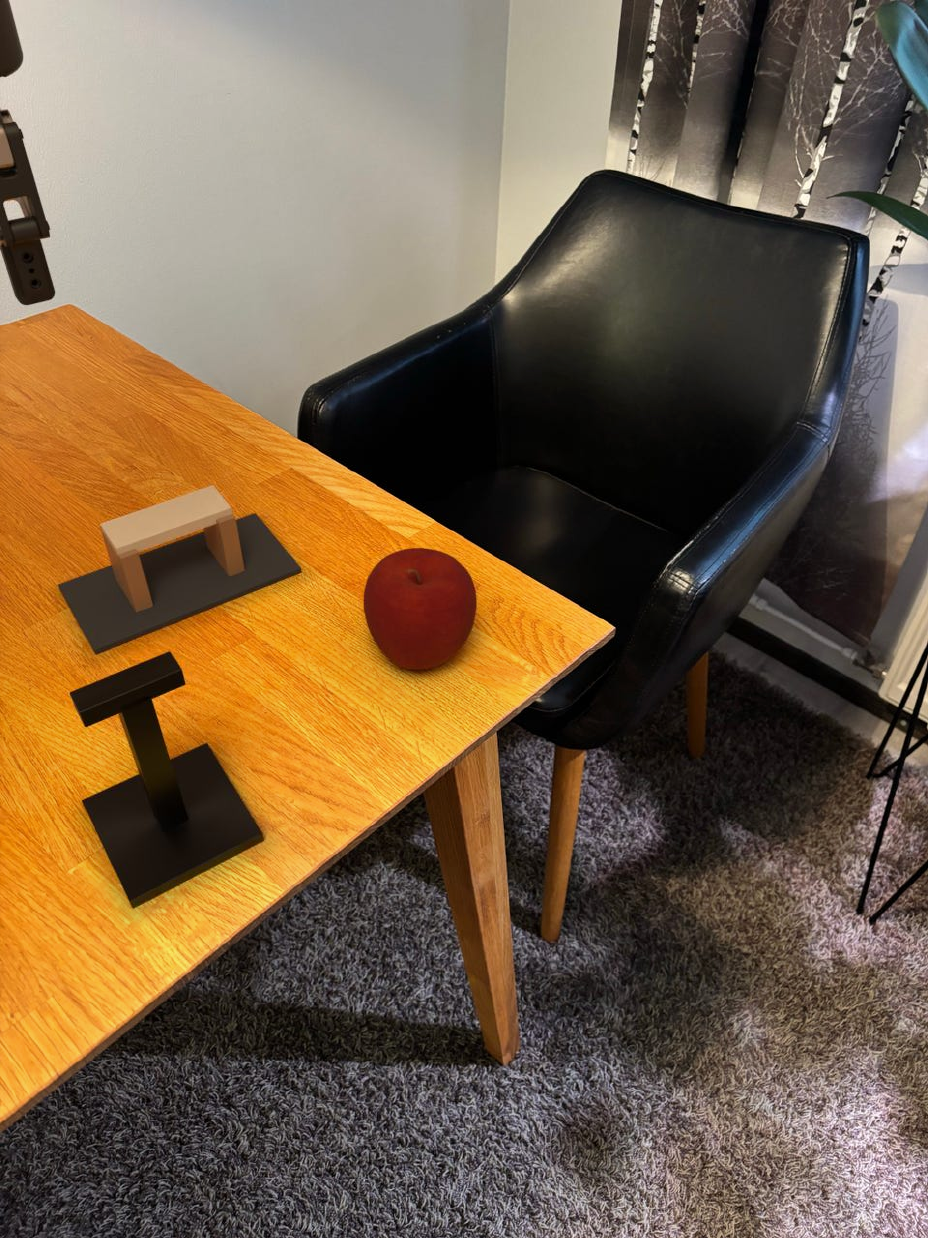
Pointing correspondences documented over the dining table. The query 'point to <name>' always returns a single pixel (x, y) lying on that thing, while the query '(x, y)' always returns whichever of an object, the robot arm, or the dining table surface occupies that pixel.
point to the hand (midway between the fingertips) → (16, 273)
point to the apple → (419, 607)
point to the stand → (160, 790)
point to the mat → (175, 585)
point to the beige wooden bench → (170, 537)
